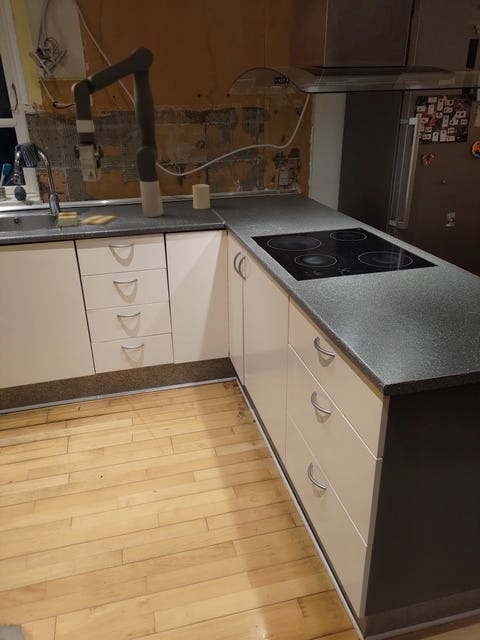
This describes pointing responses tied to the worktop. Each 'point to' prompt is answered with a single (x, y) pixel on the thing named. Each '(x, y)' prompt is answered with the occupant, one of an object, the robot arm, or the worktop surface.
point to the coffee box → (89, 162)
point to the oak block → (68, 214)
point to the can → (201, 196)
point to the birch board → (98, 220)
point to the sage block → (67, 220)
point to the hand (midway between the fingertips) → (91, 168)
